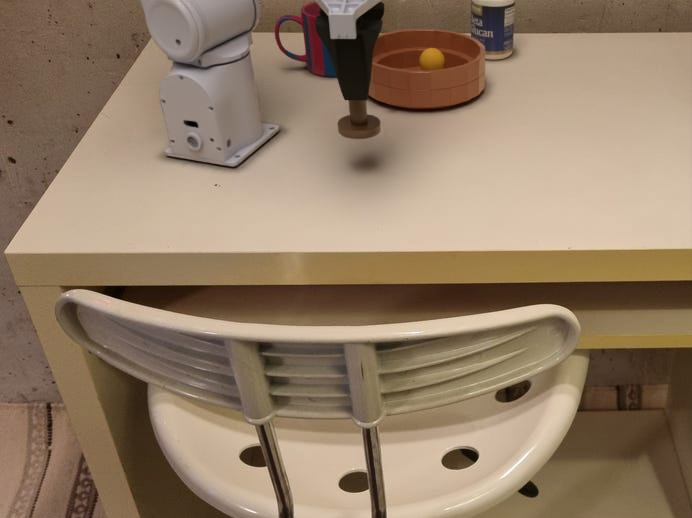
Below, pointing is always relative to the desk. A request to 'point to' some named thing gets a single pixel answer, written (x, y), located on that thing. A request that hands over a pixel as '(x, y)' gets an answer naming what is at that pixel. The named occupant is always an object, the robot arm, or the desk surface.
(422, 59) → the ball
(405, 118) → the desk surface
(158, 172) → the desk surface
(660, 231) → the desk surface
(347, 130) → the stick
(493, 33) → the pill bottle
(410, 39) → the bowl
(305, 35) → the mug
